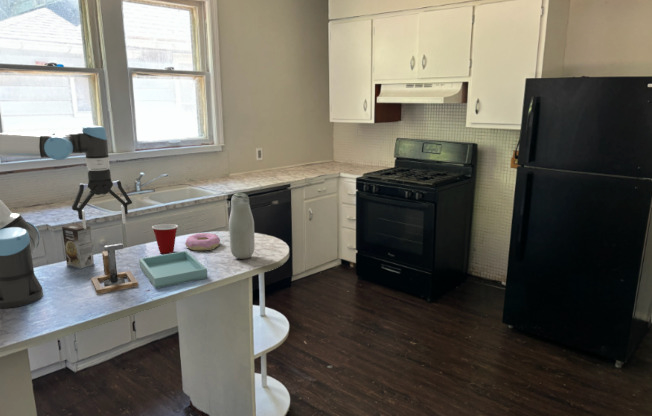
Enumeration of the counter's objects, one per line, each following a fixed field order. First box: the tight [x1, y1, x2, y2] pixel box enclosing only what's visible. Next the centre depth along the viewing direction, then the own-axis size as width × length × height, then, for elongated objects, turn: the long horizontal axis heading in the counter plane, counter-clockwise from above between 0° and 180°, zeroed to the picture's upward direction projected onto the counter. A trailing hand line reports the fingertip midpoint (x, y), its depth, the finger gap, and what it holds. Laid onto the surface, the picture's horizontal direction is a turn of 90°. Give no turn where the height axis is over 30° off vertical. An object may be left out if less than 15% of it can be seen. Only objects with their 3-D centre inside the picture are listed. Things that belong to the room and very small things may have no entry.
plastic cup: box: [151, 223, 179, 255], centre depth 209 cm, size 11×11×12 cm
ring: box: [90, 250, 139, 295], centre depth 176 cm, size 14×20×9 cm
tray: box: [138, 250, 208, 289], centre depth 185 cm, size 19×25×4 cm
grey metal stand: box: [103, 243, 126, 287], centre depth 173 cm, size 8×7×15 cm
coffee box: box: [61, 223, 95, 269], centre depth 192 cm, size 9×6×16 cm
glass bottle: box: [228, 192, 256, 260], centre depth 200 cm, size 10×10×28 cm
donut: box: [184, 232, 221, 252], centre depth 218 cm, size 16×15×5 cm
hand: (104, 225), depth 179 cm, fingers open, 13 cm apart
